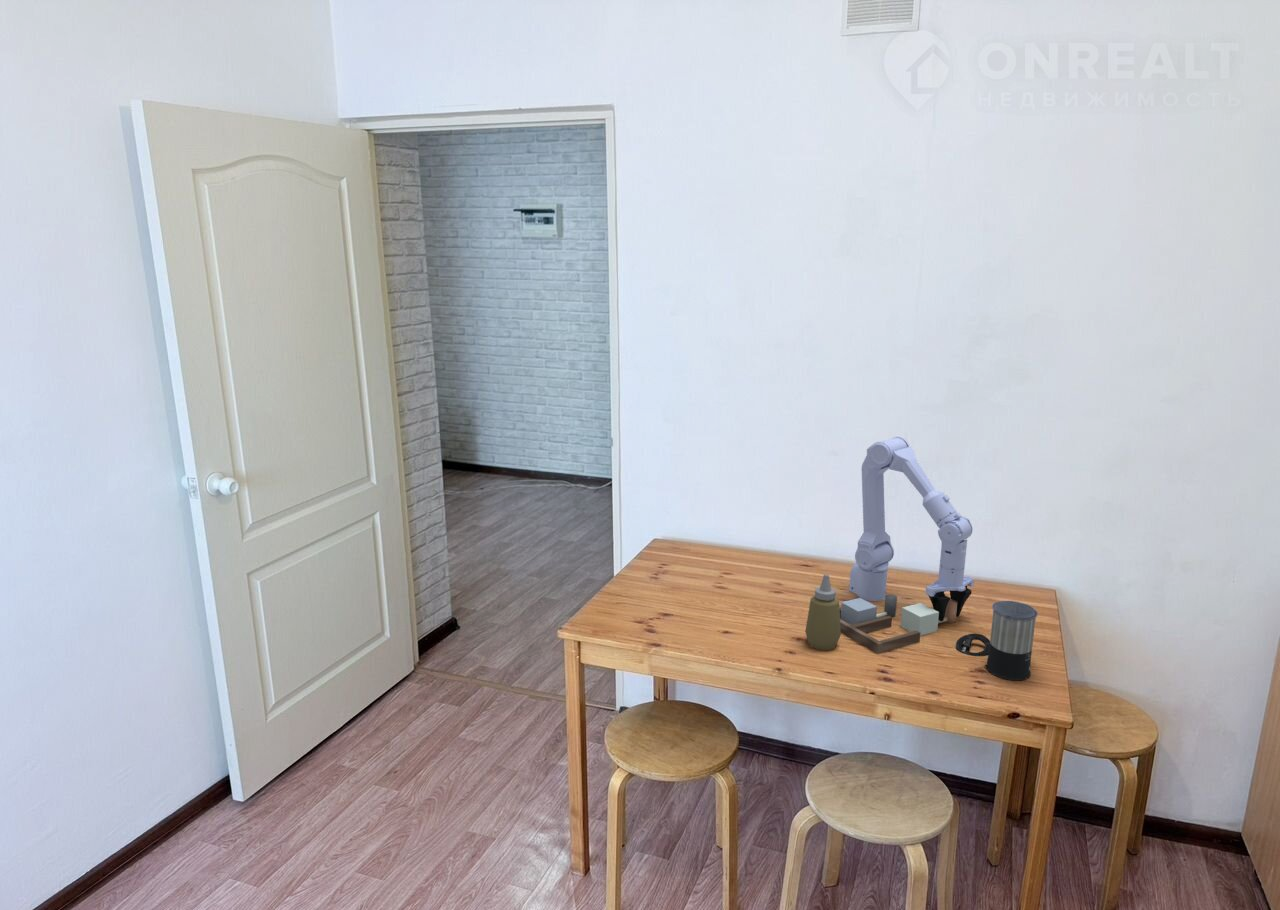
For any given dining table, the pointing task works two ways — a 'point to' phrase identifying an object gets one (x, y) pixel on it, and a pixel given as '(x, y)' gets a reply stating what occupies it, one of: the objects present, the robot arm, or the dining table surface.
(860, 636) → the shelf
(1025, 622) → the milk frother
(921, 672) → the dining table surface
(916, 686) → the dining table surface
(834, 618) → the squeeze bottle
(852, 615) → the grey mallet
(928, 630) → the sage cube mallet
